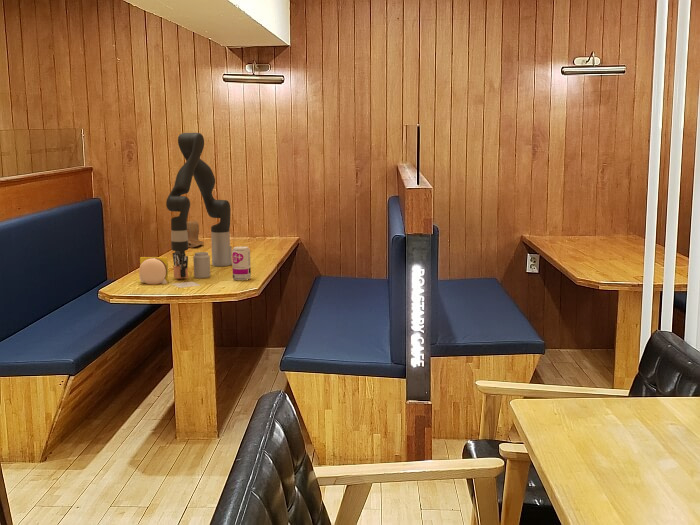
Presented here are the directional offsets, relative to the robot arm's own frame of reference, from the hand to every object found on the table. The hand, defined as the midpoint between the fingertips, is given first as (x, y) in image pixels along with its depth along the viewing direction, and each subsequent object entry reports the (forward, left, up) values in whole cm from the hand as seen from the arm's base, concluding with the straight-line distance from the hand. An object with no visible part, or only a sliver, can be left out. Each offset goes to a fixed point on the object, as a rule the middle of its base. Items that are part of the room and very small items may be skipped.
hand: (180, 276), depth 360 cm
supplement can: (-24, +13, -2) cm, 28 cm away
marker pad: (+3, +13, -2) cm, 13 cm away
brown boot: (-42, -94, -2) cm, 103 cm away
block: (0, 0, 0) cm, 0 cm away
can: (-10, 0, -2) cm, 11 cm away
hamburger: (+14, +2, -2) cm, 14 cm away
